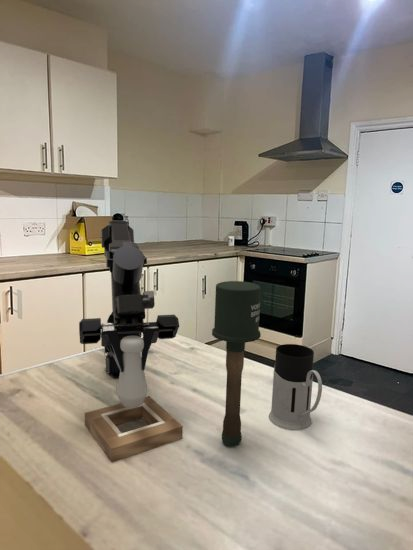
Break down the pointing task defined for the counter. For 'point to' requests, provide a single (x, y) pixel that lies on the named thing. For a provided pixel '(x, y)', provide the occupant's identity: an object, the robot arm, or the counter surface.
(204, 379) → the counter surface
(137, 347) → the salt shaker
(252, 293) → the potato masher grenade
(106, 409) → the socket board
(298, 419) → the glass holder
